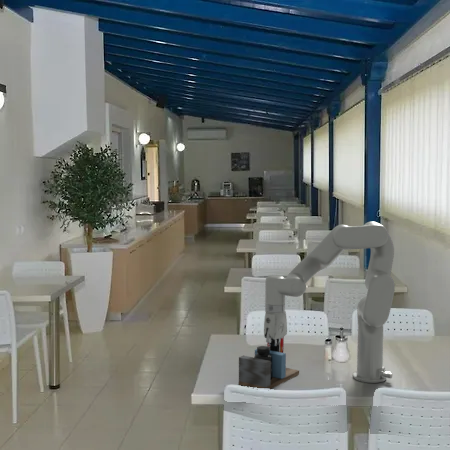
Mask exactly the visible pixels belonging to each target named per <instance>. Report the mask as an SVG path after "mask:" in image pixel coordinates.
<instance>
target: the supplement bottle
mask: <svg viewBox="0 0 450 450" xmlns="http://www.w3.org/2000/svg"><path fill="white" fill-rule="evenodd" d="M256 349H257V354H256V355H255V354H254V357H253V358H258V359H263V360H268V361H271V380H272V355H270V354H269V353H270V347H267V345H261V346H259V345H258V346H257V347H256Z"/></svg>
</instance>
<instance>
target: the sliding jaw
mask: <svg viewBox="0 0 450 450" xmlns="http://www.w3.org/2000/svg"><path fill="white" fill-rule="evenodd" d="M256 354H257V348H255V349H254V356H255V355H256ZM269 354H270V355H272V377H275V378H280V379H282V378H284V377H286V368H287V366H286V365H287V364H286V363H287V361H286V360H287V358H286V357H287V354H286V353H285V352H283V353H281V352H276V351H271V350H270V353H269Z"/></svg>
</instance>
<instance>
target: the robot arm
mask: <svg viewBox="0 0 450 450" xmlns="http://www.w3.org/2000/svg"><path fill="white" fill-rule="evenodd" d="M362 249H363V250H364V249H370V257H369V262H368V267H367V272H366V276H365V278H364V279H365V280H364V285H365V288H366V289H367V293H366V296H363V297H362V298H361V299H360V300H359V302H358V304H357V309H356V313H357V314H356V315H357V349H356V350H357V351H356V352H357V353H356V360H357V361H356V371H354V372H353V373H352V377H353V379H354V380H356V381H359V382H362V383H369V384H377V383H382V382H384V381H387V379H392V378H393V373H392V371H387V370H386V366H384V365H383V362H384V361H383V360H384V357H383V355H384V353H383V352H384V325H385V324H386V323H387V322H388V319H389V316H390V314H391V310H392V309H391V308H392V305H393V299H394V295H395V291H396V290H395V289H396V287H395V285H396V284H395V281H394V279H393V277H392V276H391V273H392V268H393V264H394V263H393V262H394V257H395V247H394V244H393V240H392V237H391V236H390V234H389V231H388V229H387V228H386V227H385V226H384V225H382V224H381V223H379V222H376V221H368V222H366V223H364V224H363V225H356V226H355V225H354V226H350V225H347V224H337V225H336V226H335V227H333V229H331V230H330V231H329V232H328V234H326V236H324V238H323V239H321V241H320V242H319V243H318V244H317V245H316V247H315V248H313V250H312V251H310V252H309V253H308V254H307V255H306V257H304V258H303V259H302V260H300V262H299V263H298V264H297V265H295V267H294V268H293V269H292V270H290V272H289V273H288V274H287V275H286V277H284V276H283V275H277V274H276V275H275V274H274V275H273V274H272V275H268V276H266V278H265V286H264V287H265V290H264V291H265V295H264V296H265V298H264V300H265V303H264V305H265V310H264V313H265V315H264V321H263V322H264V323H263V337H264V338H265V342H266V343H267V342H268V343H269V345H270V350H271V351H276V352H279V345H280V341H281V338H283V337H284V338H285V337H286V336H287V335H288V320H287V313H286V296H287V297H293V298H294V297H295V298H297V297H301V296H302V295H304V294H305V292H306V290H307V285H306V284H307V283H308V282H309V281H310V280H311V278H312V277H314V276H315V275H316V274H317V273H319V272H320V271H323V270H325V269H327V268H328V267H330V266H331V265H332V264H333V263H334V262H335V261H336V259H337V258H338V257H339V256H340V255H341V254H342V253H343V252H344V251H345V250H346V251H347V250H362Z"/></svg>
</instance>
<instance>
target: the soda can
mask: <svg viewBox="0 0 450 450" xmlns="http://www.w3.org/2000/svg"><path fill="white" fill-rule="evenodd" d="M266 343H267V344H266V346H267V347H270V345H269V343H268V342H266ZM284 350H285V336H284V337H283V338H281V341H280V345H279V352H281V353H284Z"/></svg>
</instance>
